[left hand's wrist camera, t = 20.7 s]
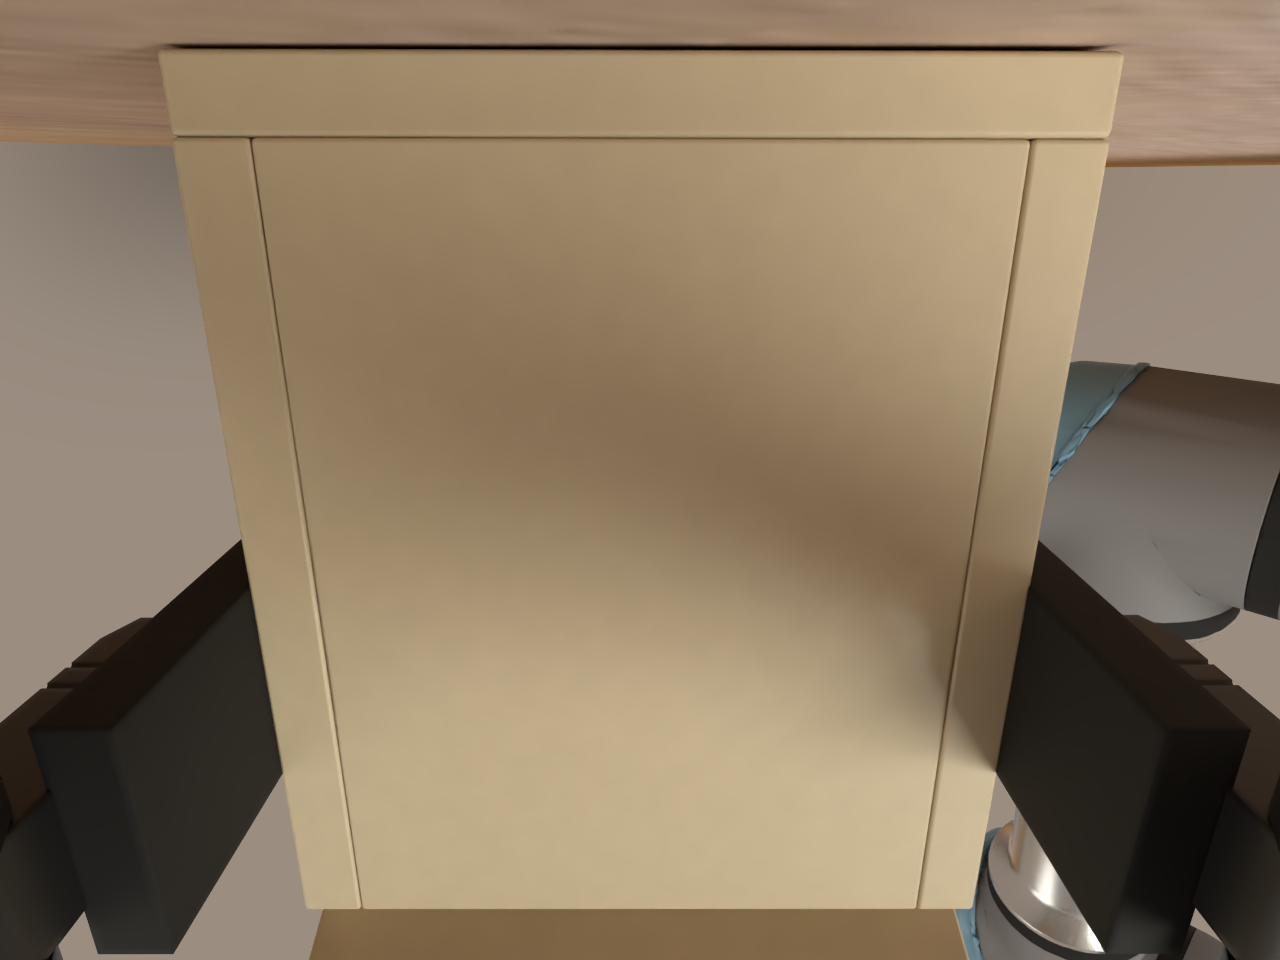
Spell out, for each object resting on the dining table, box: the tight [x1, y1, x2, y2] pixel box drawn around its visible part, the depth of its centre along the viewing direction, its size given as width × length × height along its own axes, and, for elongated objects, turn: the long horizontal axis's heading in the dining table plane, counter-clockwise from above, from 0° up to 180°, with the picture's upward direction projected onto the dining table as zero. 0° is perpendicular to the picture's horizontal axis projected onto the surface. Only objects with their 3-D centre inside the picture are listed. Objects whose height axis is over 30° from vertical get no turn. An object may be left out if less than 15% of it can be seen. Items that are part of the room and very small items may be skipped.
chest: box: [158, 49, 1124, 909], centre depth 16 cm, size 13×9×11 cm
